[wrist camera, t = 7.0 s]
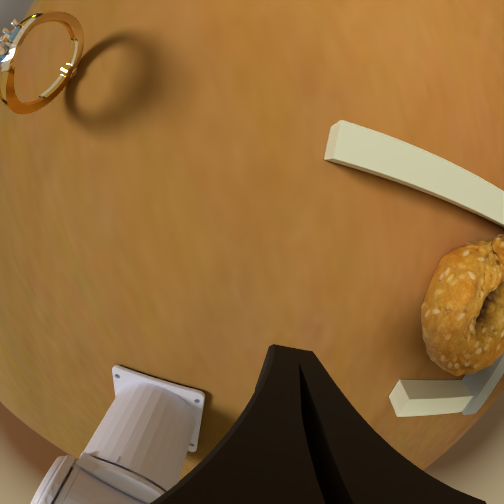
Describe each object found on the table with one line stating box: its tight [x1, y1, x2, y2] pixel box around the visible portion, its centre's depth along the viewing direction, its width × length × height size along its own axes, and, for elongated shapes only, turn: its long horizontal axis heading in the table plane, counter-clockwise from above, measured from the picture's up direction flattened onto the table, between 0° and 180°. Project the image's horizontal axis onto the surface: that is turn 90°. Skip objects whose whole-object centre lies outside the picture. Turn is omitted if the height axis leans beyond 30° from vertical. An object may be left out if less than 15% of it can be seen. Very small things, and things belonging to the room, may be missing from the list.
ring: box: [0, 10, 84, 114], centre depth 10 cm, size 7×3×8 cm, turn 146°
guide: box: [324, 120, 504, 417], centre depth 16 cm, size 18×21×3 cm
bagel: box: [421, 234, 504, 376], centre depth 15 cm, size 10×11×5 cm
